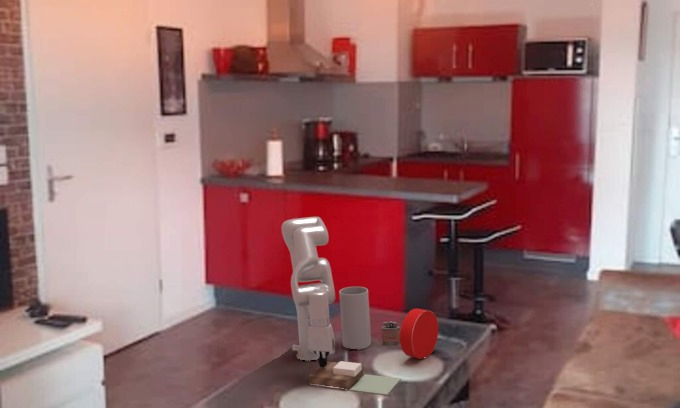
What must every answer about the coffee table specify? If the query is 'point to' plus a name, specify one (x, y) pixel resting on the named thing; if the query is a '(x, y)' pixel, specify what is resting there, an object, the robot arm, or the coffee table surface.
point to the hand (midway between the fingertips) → (323, 366)
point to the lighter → (391, 333)
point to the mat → (375, 384)
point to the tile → (347, 368)
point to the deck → (332, 377)
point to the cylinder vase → (355, 317)
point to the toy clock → (419, 333)
